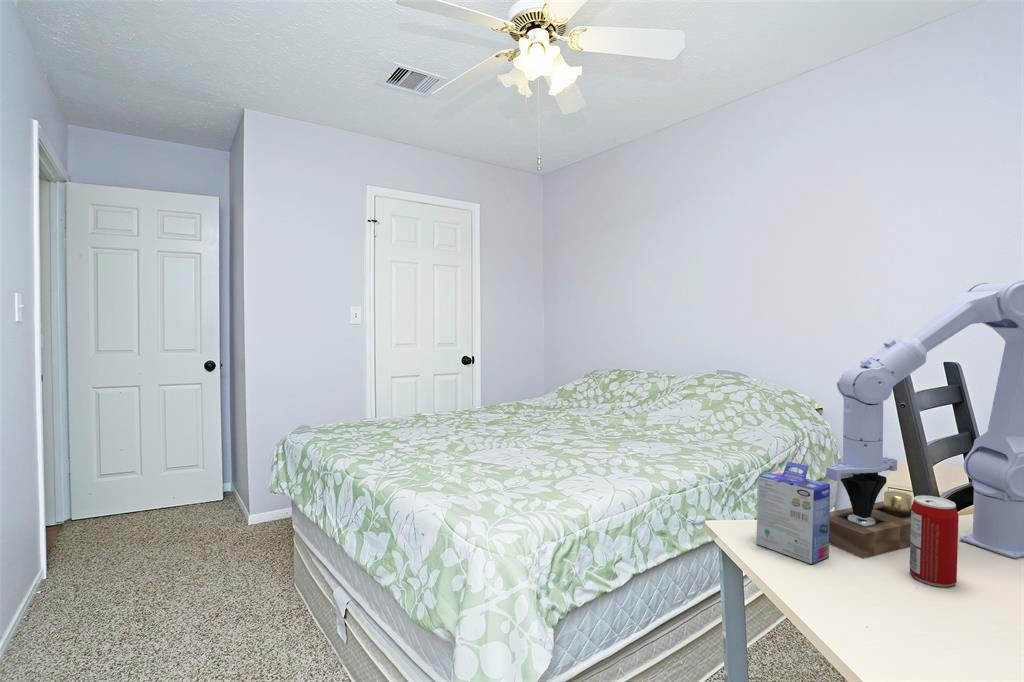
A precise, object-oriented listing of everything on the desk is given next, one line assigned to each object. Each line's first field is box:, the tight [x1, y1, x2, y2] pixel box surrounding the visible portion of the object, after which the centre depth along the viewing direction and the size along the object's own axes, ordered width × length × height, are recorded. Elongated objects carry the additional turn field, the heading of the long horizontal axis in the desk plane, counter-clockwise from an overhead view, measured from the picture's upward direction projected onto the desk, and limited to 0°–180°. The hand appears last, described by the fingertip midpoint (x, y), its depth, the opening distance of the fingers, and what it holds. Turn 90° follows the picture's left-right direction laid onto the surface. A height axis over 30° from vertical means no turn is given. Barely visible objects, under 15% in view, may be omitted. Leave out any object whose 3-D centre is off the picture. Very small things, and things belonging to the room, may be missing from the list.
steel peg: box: [848, 514, 875, 526], centre depth 94 cm, size 4×4×4 cm
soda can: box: [909, 495, 960, 588], centre depth 80 cm, size 6×6×12 cm
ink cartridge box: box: [755, 461, 831, 565], centre depth 90 cm, size 10×6×14 cm, turn 34°
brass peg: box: [883, 490, 913, 518], centre depth 97 cm, size 4×4×4 cm
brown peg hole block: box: [829, 500, 911, 559], centre depth 95 cm, size 20×9×4 cm, turn 111°
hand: (861, 516), depth 93 cm, fingers closed
